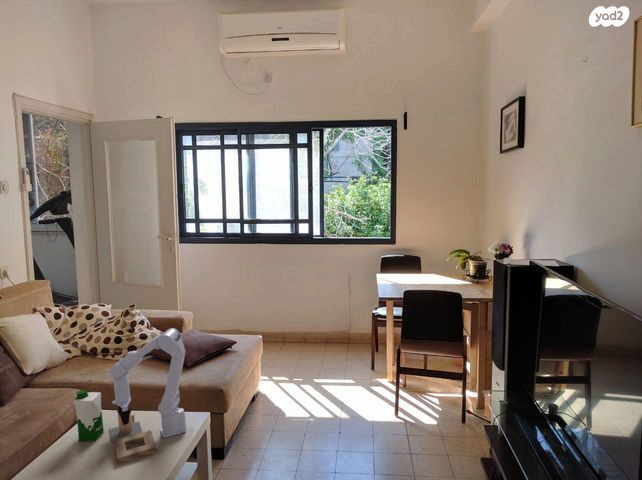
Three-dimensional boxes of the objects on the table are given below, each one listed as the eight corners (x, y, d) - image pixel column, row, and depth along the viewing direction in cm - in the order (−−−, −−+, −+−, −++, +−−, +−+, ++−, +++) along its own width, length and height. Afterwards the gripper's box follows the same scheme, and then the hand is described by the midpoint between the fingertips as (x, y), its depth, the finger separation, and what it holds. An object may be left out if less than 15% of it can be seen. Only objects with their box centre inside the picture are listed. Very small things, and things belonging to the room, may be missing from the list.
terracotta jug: (135, 426, 197) (133, 409, 196) (135, 431, 192) (134, 414, 191) (119, 430, 194) (117, 412, 193) (119, 435, 189) (117, 418, 188)
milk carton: (86, 431, 194) (81, 387, 192) (107, 430, 194) (103, 386, 192) (75, 443, 186) (70, 397, 183) (96, 442, 186) (92, 396, 183)
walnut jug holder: (151, 435, 189) (150, 430, 189) (156, 452, 177) (156, 446, 177) (114, 446, 182) (114, 440, 182) (118, 464, 170) (117, 458, 170)
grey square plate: (139, 422, 201) (139, 421, 201) (142, 434, 190) (142, 434, 190) (109, 429, 195) (109, 429, 195) (111, 443, 185) (111, 442, 185)
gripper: (110, 385, 195) (113, 415, 196) (113, 399, 182) (116, 430, 184) (127, 381, 198) (130, 410, 200) (131, 394, 185) (134, 425, 187)
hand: (124, 420), depth 192 cm, fingers open, 7 cm apart
